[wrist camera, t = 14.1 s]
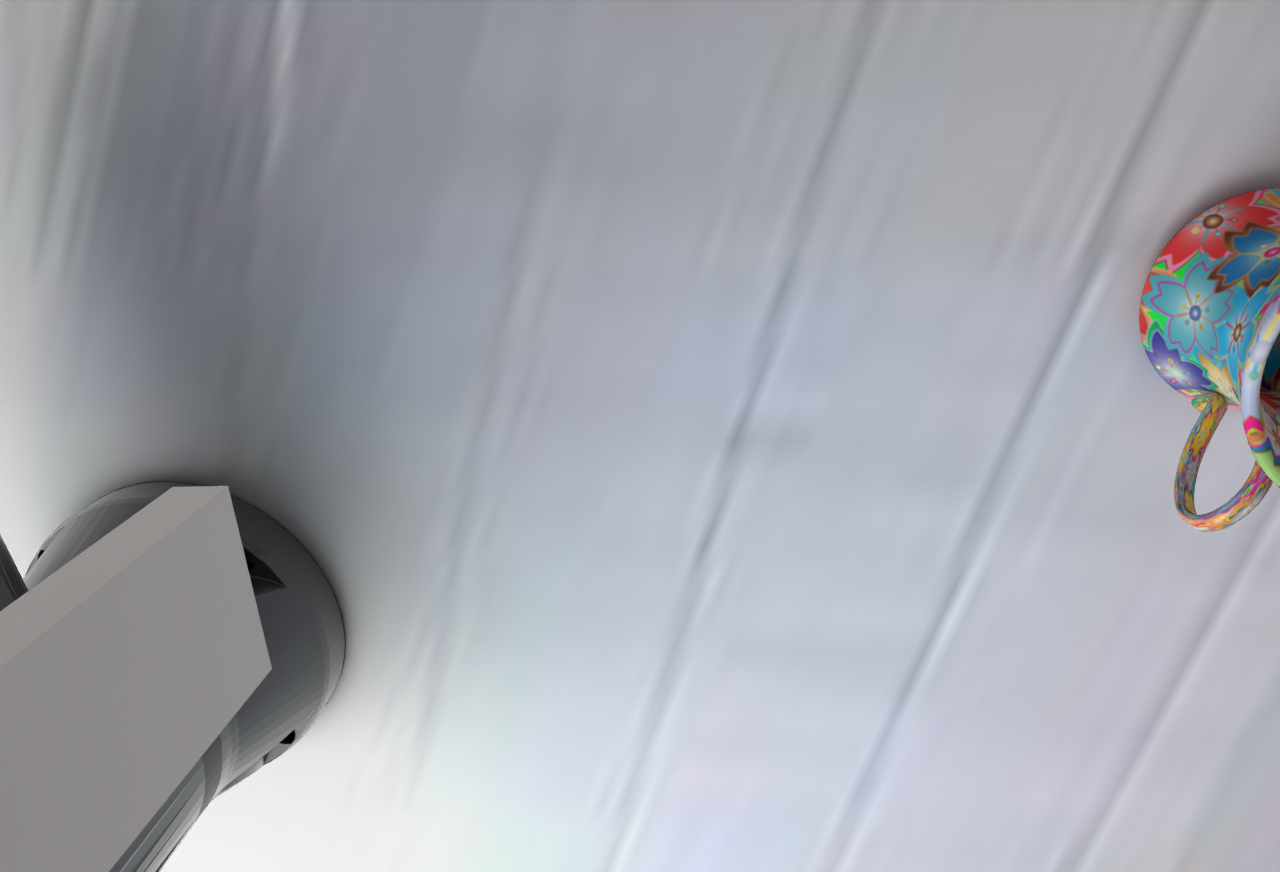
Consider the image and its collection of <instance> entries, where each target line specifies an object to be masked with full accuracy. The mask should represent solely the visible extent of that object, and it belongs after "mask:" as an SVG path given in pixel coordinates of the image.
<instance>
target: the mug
mask: <svg viewBox="0 0 1280 872" xmlns="http://www.w3.org/2000/svg"><path fill="white" fill-rule="evenodd" d="M1139 322H1140V332H1141V337H1142V341H1143V345H1144V348H1145V351H1146V353H1147V355H1148V358H1149V360H1150V362H1151V363H1152V365H1153V367H1154V368H1155V370H1156V371H1157V372H1158V374H1159V375H1160V376H1161V377H1162V378H1163V379H1164V380H1165V381H1166V383H1167V384H1169V385H1170V386H1171V387H1172V388H1174V389H1175V390H1176V391H1178V392H1179V393H1181V394H1182V395H1184V396H1186V397H1188V398H1190V399H1192V405H1193V406H1194V407H1195V408H1196V409H1197V410H1199V411H1201V412H1202V413H1201V415H1200V416H1199V418H1198V420H1197V422H1196V423H1195V425H1194V427H1193V429H1192V431H1191V433H1190V435H1189V437H1188V439H1187V442H1186V444H1185V446H1184V449H1183V452H1182V454H1181V457H1180V461H1179V464H1178V468H1177V472H1176V478H1175V486H1174V499H1175V505H1176V509H1177V512H1178V514H1179V515H1180V517H1181V518H1182V519H1183V520H1184V521H1185V522H1186V523H1187V524H1188V525H1190V526H1191V527H1193V528H1195V529H1197V530H1199V531H1204V532H1213V531H1218V530H1221V529H1224V528H1227V527H1229V526H1231V525H1233V524H1235V523H1236V522H1238V521H1239V520H1241V519H1242V518H1244V517H1245V516H1246V515H1247V514H1249V513H1250V512H1251V511H1252V510H1253V509H1254V508H1255V507H1256V506H1257V505H1258V504H1259V503H1260V501H1261V500H1262V499H1263V498H1264V496H1265V495H1266V493H1267V492H1268V490H1269V488H1270V487H1271V485H1272V482H1274V483H1275V484H1276V485H1277V486H1278V487H1279V488H1280V188H1271V189H1263V190H1258V191H1253V192H1249V193H1245V194H1242V195H1239V196H1235V197H1233V198H1230V199H1228V200H1225V201H1223V202H1221V203H1219V204H1217V205H1215V206H1213V207H1211V208H1210V209H1208V210H1206V211H1205V212H1203V213H1201V214H1200V215H1199V216H1197V217H1196V218H1194V219H1193V220H1192V221H1190V222H1189V223H1188V224H1187V225H1186V226H1185V227H1183V228H1182V229H1181V230H1180V231H1179V232H1178V233H1177V234H1176V235H1175V236H1174V237H1173V238H1172V239H1171V241H1170V242H1169V243H1168V244H1167V245H1166V247H1165V248H1164V249H1163V251H1162V252H1161V254H1160V255H1159V257H1158V258H1157V260H1156V262H1155V263H1154V265H1153V267H1152V269H1151V271H1150V273H1149V275H1148V278H1147V281H1146V283H1145V286H1144V289H1143V294H1142V298H1141V304H1140V316H1139ZM1227 409H1233V410H1241V412H1242V419H1243V425H1244V430H1245V433H1246V437H1247V440H1248V443H1249V445H1250V448H1251V450H1252V452H1253V455H1254V456H1255V458H1256V461H1255V464H1254V467H1253V469H1252V472H1251V474H1250V476H1249V477H1248V479H1247V481H1246V482H1245V484H1244V485H1243V486H1242V488H1241V489H1240V490H1239V491H1238V492H1237V493H1236V495H1235V496H1234V497H1232V498H1231V499H1230V500H1229V501H1228V502H1227V503H1225V504H1224V505H1222V506H1221V507H1219V508H1218V509H1216V510H1214V511H1212V512H1209V513H1207V514H1203V515H1197V514H1196V511H1195V507H1194V490H1195V482H1196V477H1197V473H1198V469H1199V466H1200V463H1201V460H1202V457H1203V455H1204V452H1205V450H1206V448H1207V446H1208V444H1209V442H1210V439H1211V438H1212V436H1213V434H1214V432H1215V430H1216V428H1217V427H1218V425H1219V423H1220V421H1221V419H1222V418H1223V416H1224V414H1225V412H1226V410H1227Z"/></svg>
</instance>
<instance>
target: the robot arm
mask: <svg viewBox="0 0 1280 872" xmlns="http://www.w3.org/2000/svg"><path fill="white" fill-rule="evenodd" d="M344 652H345V639H344V629H343V623H342V618H341V614H340V610H339V607H338V604H337V601H336V599H335V596H334V594H333V591H332V589H331V587H330V585H329V583H328V581H327V579H326V578H325V576H324V574H323V573H322V571H321V569H320V568H319V566H318V565H317V564H316V562H315V561H314V559H313V558H312V557H311V556H310V554H309V553H308V552H307V551H306V549H305V548H304V547H303V546H302V545H301V544H300V543H299V542H298V541H297V540H296V539H295V538H294V537H293V536H292V535H291V534H290V533H289V532H288V531H287V530H285V529H284V528H283V527H282V526H281V525H279V524H278V523H277V522H276V521H274V520H273V519H272V518H270V517H269V516H267V515H266V514H264V513H263V512H261V511H260V510H258V509H256V508H255V507H253V506H251V505H249V504H247V503H245V502H243V501H241V500H239V499H237V498H235V497H233V496H230V492H229V488H228V486H197V485H192V484H186V483H176V482H152V483H144V484H137V485H133V486H128V487H125V488H122V489H119V490H116V491H114V492H111V493H109V494H107V495H105V496H103V497H101V498H100V499H98V500H97V501H95V502H94V503H92V504H90V505H89V506H87V507H86V508H84V509H83V510H81V511H80V512H78V513H77V514H75V515H74V516H72V517H71V518H69V519H68V520H67V521H65V522H64V523H63V524H62V525H60V526H59V527H58V528H57V529H56V530H55V531H54V532H53V533H52V534H51V535H50V536H49V537H48V538H47V540H46V541H45V542H44V543H43V544H42V546H41V547H40V549H39V550H38V552H37V554H36V555H35V557H34V559H33V561H32V562H31V564H30V566H29V568H28V570H27V573H26V576H25V578H24V579H22V577H21V575H20V573H19V571H18V569H17V567H16V565H15V563H14V561H13V559H12V557H11V555H10V553H9V551H8V549H7V547H6V545H5V543H4V541H3V539H2V537H1V535H0V872H160V871H161V869H162V868H163V866H164V865H165V864H166V862H167V861H168V859H169V858H170V857H171V855H172V854H173V853H174V851H175V850H176V848H177V847H178V846H179V844H180V843H181V841H182V840H183V839H184V837H185V836H186V834H187V833H188V832H189V830H190V829H191V827H192V826H193V824H194V823H195V821H196V820H197V819H198V817H199V816H200V815H201V813H202V812H203V811H204V809H205V808H206V807H207V806H208V804H209V803H210V802H211V801H212V800H213V799H215V798H216V797H218V796H219V795H221V794H222V793H224V792H225V791H227V790H228V789H230V788H231V787H233V786H234V785H236V784H237V783H239V782H241V781H242V780H244V779H245V778H247V777H248V776H250V775H251V774H253V773H254V772H255V771H257V770H258V769H259V768H261V767H262V766H263V765H265V764H267V763H269V762H271V761H272V760H274V759H275V758H277V757H278V756H280V755H281V754H283V753H284V752H286V751H287V750H288V749H290V748H291V747H292V746H293V745H294V744H295V743H297V742H298V741H299V740H300V739H301V738H302V737H303V735H304V734H305V733H306V732H307V731H308V730H309V728H310V727H311V726H312V724H313V723H314V722H315V720H316V719H317V717H318V716H319V714H320V713H321V711H322V710H323V708H324V707H325V705H326V704H327V702H328V701H329V699H330V698H331V696H332V694H333V692H334V690H335V688H336V686H337V684H338V681H339V678H340V675H341V671H342V667H343V662H344Z"/></svg>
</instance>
